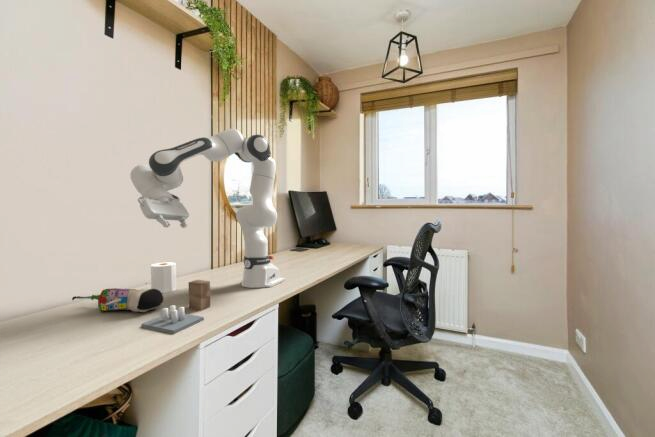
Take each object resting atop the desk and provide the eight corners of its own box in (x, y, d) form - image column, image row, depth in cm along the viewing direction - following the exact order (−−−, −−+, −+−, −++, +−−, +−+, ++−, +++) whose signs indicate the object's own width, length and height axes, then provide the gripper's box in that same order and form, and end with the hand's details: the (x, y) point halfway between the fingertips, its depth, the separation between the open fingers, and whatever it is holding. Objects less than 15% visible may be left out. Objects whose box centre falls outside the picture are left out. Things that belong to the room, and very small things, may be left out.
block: (198, 304, 117) (197, 279, 116) (210, 306, 115) (209, 281, 114) (188, 308, 113) (188, 282, 112) (201, 310, 111) (200, 284, 110)
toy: (56, 321, 102) (136, 320, 98) (55, 294, 102) (135, 293, 99) (112, 303, 125) (179, 302, 121) (111, 282, 125) (178, 280, 122)
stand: (173, 314, 107) (172, 300, 107) (203, 319, 102) (203, 305, 101) (141, 326, 96) (141, 311, 95) (174, 333, 91) (173, 317, 90)
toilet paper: (181, 288, 140) (181, 262, 140) (165, 294, 130) (164, 266, 130) (163, 286, 143) (162, 261, 142) (145, 292, 133) (144, 265, 132)
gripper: (141, 191, 108) (161, 220, 106) (181, 197, 128) (198, 222, 126) (130, 202, 109) (149, 231, 107) (171, 207, 129) (188, 231, 126)
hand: (176, 226), depth 116 cm, fingers open, 8 cm apart
